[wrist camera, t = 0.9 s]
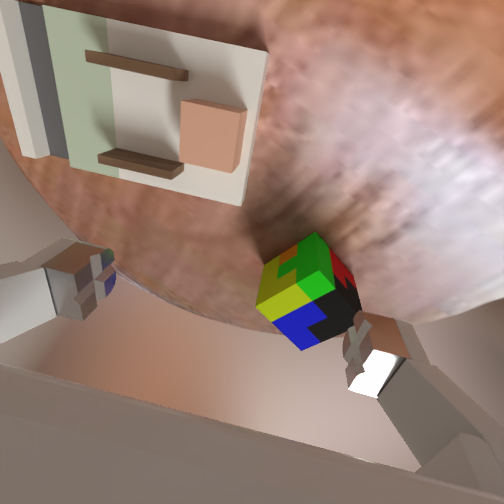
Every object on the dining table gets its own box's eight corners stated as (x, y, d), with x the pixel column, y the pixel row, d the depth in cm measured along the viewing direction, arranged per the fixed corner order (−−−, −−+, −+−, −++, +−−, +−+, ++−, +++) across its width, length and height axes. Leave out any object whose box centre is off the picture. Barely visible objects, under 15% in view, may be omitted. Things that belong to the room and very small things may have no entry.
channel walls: (109, 53, 30) (84, 49, 27) (188, 70, 30) (173, 68, 26) (117, 155, 36) (98, 163, 33) (184, 171, 36) (171, 180, 32)
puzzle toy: (301, 303, 48) (301, 350, 39) (264, 264, 45) (255, 306, 36) (353, 276, 43) (365, 323, 35) (315, 231, 40) (319, 270, 32)
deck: (5, -2, 32) (-21, -9, 29) (269, 54, 30) (266, 51, 28) (40, 151, 41) (22, 155, 38) (244, 198, 39) (240, 206, 37)
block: (196, 98, 31) (181, 100, 27) (247, 109, 31) (240, 113, 27) (192, 152, 34) (178, 161, 30) (239, 163, 34) (231, 173, 30)
